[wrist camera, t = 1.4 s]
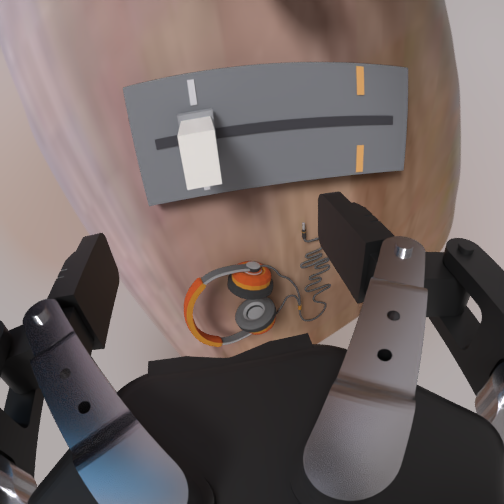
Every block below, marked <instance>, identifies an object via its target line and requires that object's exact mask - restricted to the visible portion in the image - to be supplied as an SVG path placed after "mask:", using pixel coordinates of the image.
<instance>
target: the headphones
mask: <svg viewBox="0 0 504 504" xmlns="http://www.w3.org/2000/svg"><path fill="white" fill-rule="evenodd" d="M302 224H303V229H302V238H303V240H304V241H305V242H311V241H315V240H318V239H319V238H315V239H312V240H305V238H306V230H305V223H304V222H303V223H302ZM321 249H322V247H321V248H319V249H317V250H315V251H312V252H309V253H307V254H306V255H305V257H306V258H312V257H315V256H318V255H320V256H318V257H315V258H313V259H310V260H308V261H305V262H303V263H301V264H300V267H301V268H306V267H309V266H312V265H314V264H316V265H315V266H314V268H315V269H321V268H324V267H326V266H328V268H327V269H326V270H323V271H321V272H319V273H316V274H313V275H311V276H310V277H309V280H314V279H319V278H320V280H319V281H317V282H314V283H311V284H309V285H307V286H306V287H305V291H306V292H311V291H314V290H317V289H320V288H323V287H326V286H328V287H327V288H325V289H323V290H321V291H319V292H318V293H316V294H315V295H314V296H313V301H314V302H317V303H323V304H325V307H324V309H323V311H322V312H321V313H320V314H319V315H318V316H316V317H315V318H313V319H310V320H305V319H303V317H302V316H301V302H300V294H299V291H298V288H297V286H296V285H295V283H294V282H293V281H292V280H291V279H290V278H288V277H286V276H282V275H281V274H280V273H279V272H278V271H277V270H276V269H275V268H273V267H271V266H268V265H263V264H260V263H258V262H254V261H246V262H242V263H239V264H237V265H232V266H227V267H223V268H219V269H216V270H213V271H211V272H209V273H208V274H206V275H205V276H203V277H202V278H197V279H196V280H195V281H194V283H193V284H192V285H191V287H190V288H189V290H188V292H187V294H186V297H185V301H184V317H185V321H186V324H187V326H188V328H189V330H190V331H191V333H192V334H193V335H194V336H195V338H196V339H198V340H199V341H200V342H202V343H204V344H206V345H209V346H215V347H220V346H222V345H226V344H231V343H234V342H237V341H239V340H241V339H243V338H245V337H247V336H249V335H251V334H254V335H256V334H262V333H265V332H267V331H268V330H269V329H271V328H272V326H273V325H274V323H275V318H276V314H277V313H278V312H279V311H280V310H281V308H282V307H283V305H284V303H285V301H286V299H287V298H288V297H291V296H294V297H295V298H296V299H297V301H298V310H299V315H300V317H301V319H302V320H304V321H312V320H314V319H316V318H318V317H319V316H320V315H321V314H322V313H323V312H324V310H325V308H326V303H325V302H321V301H316V300H315V299H314V298H315V296H316V295H317V294H319V293H321V292H322V291H324V290H326V289H328V288H330V286H331V284H326V285H323V286H321V287H318V288H315V289H312V290H306V288H307V287H309V286H311V285H313V284H316V283H318V282H320V281H321V280H322V278H321V277H315V278H311V277H313V276H315V275H318V274H321V273H323V272H325V271H327V270H329V269H330V265H328V264H327V265H324V266H321V267H316V266H318V265H320V264H323V263H326V262H328V261H329V258H324V259H321V260H319V261H317V262H314V263H312V264H310V265H307V266H303V267H302V265H303V264H305V263H307V262H310V261H313V260H315V259H318V258H320V257H321V256H322V253H318V254H316V255H313V256H309V257H307V255H309V254H312V253H315V252H317V251H319V250H321ZM326 259H328V260H326ZM323 260H326V261H323ZM321 261H323V262H321ZM319 262H321V263H319ZM317 263H318V264H317ZM267 267H268V268H271V269H273V270H274V271H275V272H276V273H277V274H278V275H279V276H281V277H283V278H286V279H288V280H289V281H290V282H291V283H292V284H293V285H294V286H295V288H296V290H297V293H298V297H299V299H298V297H297V296H295V295H288V296H287V297H286V298H285V299H284V301H283V303H282V305H281V307H280V308H279V309H278V311H277V312H276V307H275V305H274V303H273V301H272V300H271V299H270V298H268V297H267V296H269V295H270V294H271V292H272V290H273V280H272V278H271V273H270V270H269V269H268V268H267ZM228 274H230V275H229V277H228V288H229V290H230V291H231V292H232V293H233V294H235V295H236V296H238V297H240V298H244V299H247V300H245V301H244V302H243V303H242V304H241V305H240V306H239V307H238V309H237V311H236V315H235V320H236V322H237V324H238V326H239V327H240V328H241V329H242V330H243V331H241V332H239V333H236V334H234V335H232V336H228V337H223V338H220V337H219V336H213V335H209V334H206V333H204V332H202V331H201V330H200V329H198V328H197V326H196V324H195V322H194V319H193V315H192V314H193V307H194V304H195V301H196V299H197V298H198V296H199V295H200V293H201V292H202V291H203V290H204V289H205V287H206V284H207V283H209V282H210V281H212V280H214V279H215V278H218V277H221V276H224V275H228ZM310 278H311V279H310Z"/></svg>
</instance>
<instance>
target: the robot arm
mask: <svg viewBox="0 0 504 504" xmlns="http://www.w3.org/2000/svg"><path fill="white" fill-rule="evenodd" d="M318 236H319V241H320V244H321V247H322V249H323V250H324V252H325V253H326V255H327V256H328V258H329V259H330V261H331V262H332V264H333V266H334V267H335V269H336V270H337V272H338V273H339V275H340V276H341V278H342V280H343V281H344V283H345V284H346V286H347V288H348V289H349V291H350V292H351V294H352V296H353V297H354V299H355V300H356V302H357V304H358V303H362V302H363V305H362V309H361V312H360V315H359V318H358V321H357V324H356V327H355V330H354V333H353V336H352V339H351V341H350V344H349V347H348V350H346V349H344V348H340V347H336V346H330V345H320V344H312V342H311V340H310V337H309V335H308V333H306V334H302V335H297V336H293V337H288V338H284V339H279V340H274V341H270V342H267V343H265V344H262V345H260V346H257V347H255V348H253V349H250V350H248V351H245V352H243V353H241V354H238V355H236V356H233V357H230V358H209V357H190V356H185V357H178V358H171V359H163V360H155V361H149V362H148V374H145V375H143V376H141V377H139V378H136V379H135V380H133V381H131V382H129V383H128V384H127V385H125V386H124V387H123V388H121V389H120V390H119V391H118V392H116V390H115V389H114V388H113V387H112V385H111V384H110V383H109V381H108V380H107V378H106V377H105V375H104V374H103V373H102V371H101V370H100V368H99V367H98V365H97V364H96V363H95V361H94V360H93V358H92V357H91V352H92V350H96V349H104V348H105V343H106V338H107V333H108V328H109V324H110V319H111V315H112V310H113V306H114V302H115V298H116V293H117V289H118V286H119V273H118V269H117V266H116V263H115V261H114V258H113V255H112V253H111V250H110V248H109V245H108V242H107V239H106V237H105V235H104V234H103V233H99V234H94V235H90V236H85V237H83V239H82V241H81V243H80V244H79V246H78V248H77V250H76V252H74V253H73V254H72V255H71V256H70V257H69V258H68V259H67V260H66V261H65V263H64V265H63V267H62V269H61V271H60V273H59V275H58V279H56V281H55V283H54V285H53V287H52V290H51V292H50V294H49V296H48V298H47V299H45V300H41V301H39V302H37V303H36V304H34V305H33V306H32V307H31V308H30V309H29V310H28V311H27V312H26V314H25V316H24V318H23V325H21V326H19V327H16V328H14V329H11V330H9V331H8V329H7V328H6V327H5V325H4V324H3V322H2V321H0V377H1V378H2V379H3V380H4V381H5V382H6V384H7V385H8V386H9V391H8V395H7V399H6V404H5V408H4V411H3V410H2V409H1V408H0V504H504V271H503V270H502V269H501V267H499V265H497V263H496V262H495V261H494V260H493V259H492V258H491V257H490V256H489V255H487V253H485V251H483V250H482V249H481V248H480V247H479V246H478V245H477V244H475V243H474V242H472V241H469V240H466V239H463V238H454V239H451V240H449V241H448V242H447V244H446V248H445V252H425V249H424V247H423V246H422V245H421V244H420V243H419V242H417V241H416V240H413V239H411V238H408V237H403V236H394V235H393V234H392V233H391V232H390V231H389V230H388V229H387V228H386V227H385V226H384V225H383V224H382V223H381V222H380V221H378V219H377V218H376V217H375V216H373V215H372V213H371V212H369V211H368V210H367V209H366V208H365V207H363V206H361V205H359V204H357V203H355V202H353V203H351V202H350V201H349V200H348V199H347V198H346V197H345V196H344V195H343V194H342V193H341V192H332V193H325V194H320V195H319V198H318ZM470 296H471V297H472V298H473V299H474V301H475V302H476V303H477V304H478V305H479V307H480V309H481V312H482V321H481V324H480V323H479V322H478V320H477V319H476V318H475V316H474V315H473V314H472V312H471V311H470V310H469V308H468V307H467V306H466V305H467V302H468V300H469V297H470ZM426 317H429V319H430V320H431V322H432V323H433V325H434V326H435V328H436V329H437V331H438V332H439V334H440V336H441V337H442V339H443V340H444V342H445V344H446V345H447V347H448V348H449V350H450V352H451V353H452V355H453V357H454V358H455V360H456V362H457V363H458V365H459V367H460V368H461V370H462V372H463V374H464V375H465V377H466V379H467V381H468V382H469V384H470V386H471V387H472V389H473V391H474V393H475V395H476V400H475V407H476V412H477V413H474V412H472V411H470V410H468V409H466V408H464V407H461V406H460V405H457V404H455V403H453V402H451V401H449V400H447V399H445V398H443V397H441V396H439V395H437V394H435V393H433V392H430V391H429V390H427V389H424V388H423V387H421V386H419V385H417V379H418V373H419V367H420V360H421V354H422V346H423V338H424V329H425V320H426ZM44 398H45V401H46V403H47V405H48V407H49V409H50V411H51V414H52V416H53V418H54V419H55V422H56V424H57V426H58V428H59V430H60V432H61V433H62V436H63V437H64V439H65V441H66V443H67V445H68V447H69V450H68V451H67V452H66V453H65V454H64V456H63V457H62V458H61V459H60V460H59V462H58V463H57V464H56V465H55V467H54V468H53V469H52V470H51V471H50V473H49V474H48V475H47V476H46V477H45V479H44V480H43V481H42V482H41V483H40V485H39V486H38V487H37V484H36V482H35V480H34V470H35V459H36V448H37V440H38V432H39V425H40V417H41V412H42V406H43V400H44Z"/></svg>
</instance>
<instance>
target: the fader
mask: <svg viewBox="0 0 504 504" xmlns="http://www.w3.org/2000/svg"><path fill="white" fill-rule="evenodd" d="M177 119H178V125H179V131H178V135H177V137H178V143H179V149H180V154H181V159H182V165H183V170H184V175H185V180H186V186H187V190H191V189H196V188H202V187H208V186H214V185H220V184H222V179H221V172H220V165H219V164H220V161H219V154H218V146H217V139H216V132H215V125H214V117H213V110H212V108H210V109H204V110H198V111H192V112H186V113H181V114H178V115H177Z"/></svg>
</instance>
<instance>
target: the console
mask: <svg viewBox="0 0 504 504" xmlns="http://www.w3.org/2000/svg"><path fill="white" fill-rule="evenodd" d="M123 92H124V97H125V102H126V108H127V113H128V118H129V123H130V128H131V132H132V137H133V142H134V146H135V151H136V155H137V159H138V164H139V168H140V172H141V176H142V180H143V184H144V188H145V192H146V196H147V200H148V204H149V206H153V205H157V204H163V203H168V202H173V201H178V200H183V199H189V198H194V197H200V196H205V195H211V194H217V193H223V192H229V191H235V190H241V189H248V188H254V187H261V186H268V185H275V184H282V183H289V182H297V181H304V180H312V179H320V178H329V177H338V176H347V175H356V174H367V173H377V172H389V171H401V170H403V169H404V158H405V146H406V131H407V110H408V68H406V67H398V66H389V65H378V64H365V63H344V62H292V63H271V64H257V65H246V66H236V67H227V68H219V69H212V70H205V71H199V72H193V73H187V74H181V75H176V76H171V77H166V78H161V79H156V80H152V81H147V82H143V83H139V84H135V85H131V86H127V87H124V88H123ZM210 108H212V110H213V117H214V125H215V132H216V139H217V146H218V154H219V161H220V164H219V165H220V172H221V179H222V184H220V185H214V186H208V187H202V188H196V189H191V190H187V186H186V180H185V175H184V170H183V165H182V159H181V154H180V149H179V143H178V137H177V135H178V131H179V125H178V119H177V115H178V114H181V113H186V112H192V111H198V110H204V109H210Z"/></svg>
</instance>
